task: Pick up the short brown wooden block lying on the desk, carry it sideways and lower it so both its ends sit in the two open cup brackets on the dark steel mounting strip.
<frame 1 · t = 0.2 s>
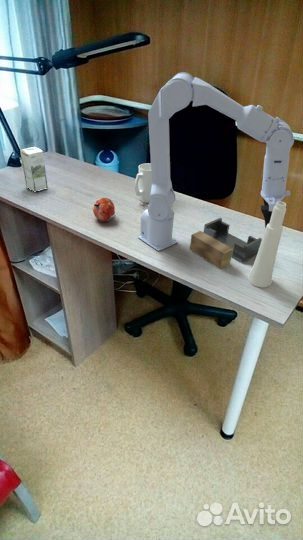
hand: (269, 223, 95), 10 cm above the table, tool pointing down, fingers open, 7 cm apart
brown wooden block: (209, 256, 100), on the table
cosmetic bottle: (259, 281, 92), on the table
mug: (144, 201, 127), on the table
brackets: (229, 246, 104), on the table
syrup box: (37, 189, 131), on the table
pomegranate: (105, 219, 115), on the table
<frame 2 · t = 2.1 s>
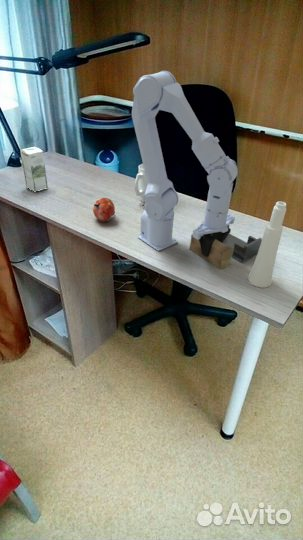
hand: (209, 252, 99), 1 cm above the table, tool pointing down, fingers closed on brown wooden block, 4 cm apart
brown wooden block: (209, 256, 100), on the table, touching gripper
everything else where it was.
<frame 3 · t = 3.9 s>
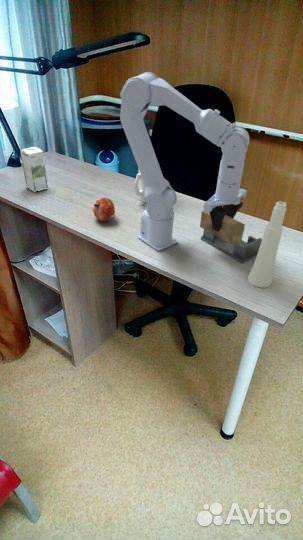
hand: (220, 227, 96), 8 cm above the table, tool pointing down, fingers closed on brown wooden block, 4 cm apart
brown wooden block: (220, 233, 97), point 7 cm above the table, touching gripper
everything else where it was.
when the fingers open (4 cm above the table, at t = 5.9 s): brown wooden block stays where it is, resting on brackets.
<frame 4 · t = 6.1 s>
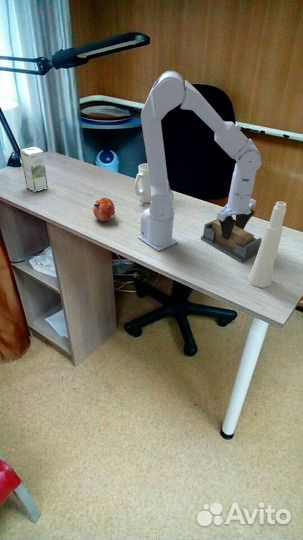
hand: (231, 235, 102), 4 cm above the table, tool pointing down, fingers open, 5 cm apart
brown wooden block: (230, 243, 104), point 1 cm above the table, touching brackets
everything else where it was.
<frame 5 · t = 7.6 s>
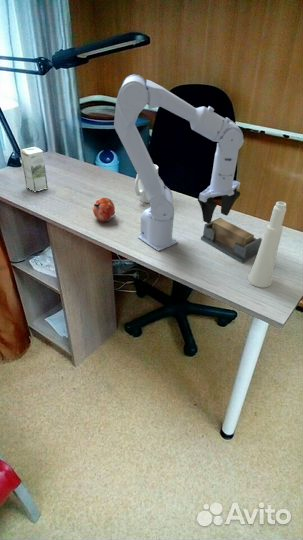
hand: (215, 218, 101), 8 cm above the table, tool pointing down, fingers open, 7 cm apart
nothing on the table moved.
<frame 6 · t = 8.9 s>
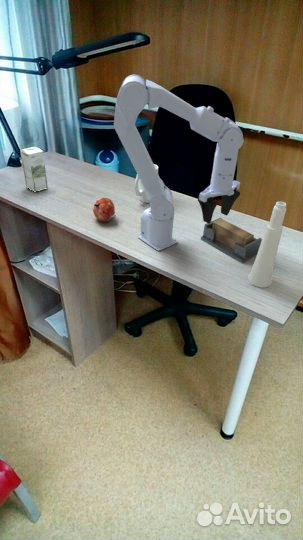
hand: (215, 217, 101), 8 cm above the table, tool pointing down, fingers open, 7 cm apart
nothing on the table moved.
at the end: brown wooden block 0.0 cm off-centre on the brackets, point 1.0 cm above the brackets's base; the gripper is holding nothing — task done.
